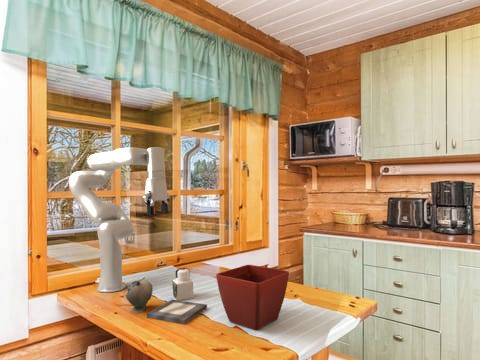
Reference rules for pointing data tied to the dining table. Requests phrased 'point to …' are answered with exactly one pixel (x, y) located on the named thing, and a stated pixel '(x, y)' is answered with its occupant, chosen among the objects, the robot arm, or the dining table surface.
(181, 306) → the charcoal board
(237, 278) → the plant pot
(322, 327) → the dining table surface
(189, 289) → the medicine bottle
